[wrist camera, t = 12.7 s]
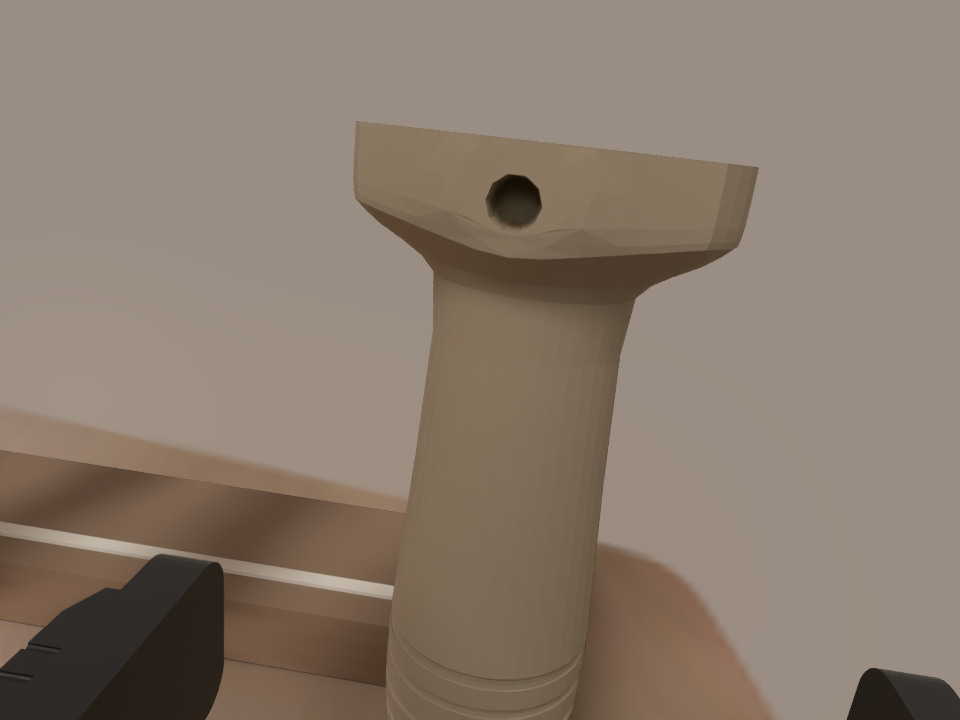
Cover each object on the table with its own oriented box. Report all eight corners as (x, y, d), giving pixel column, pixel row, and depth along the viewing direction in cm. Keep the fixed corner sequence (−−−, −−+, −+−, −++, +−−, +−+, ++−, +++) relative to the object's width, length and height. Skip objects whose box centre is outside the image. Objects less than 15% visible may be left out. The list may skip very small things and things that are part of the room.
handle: (373, 710, 19) (420, 130, 14) (611, 786, 17) (744, 167, 13) (277, 880, 14) (301, 114, 10) (586, 1002, 13) (778, 169, 8)
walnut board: (-169, 589, 21) (-181, 527, 20) (-13, 495, 27) (-18, 443, 26) (563, 717, 19) (575, 654, 19) (562, 588, 25) (571, 536, 24)
